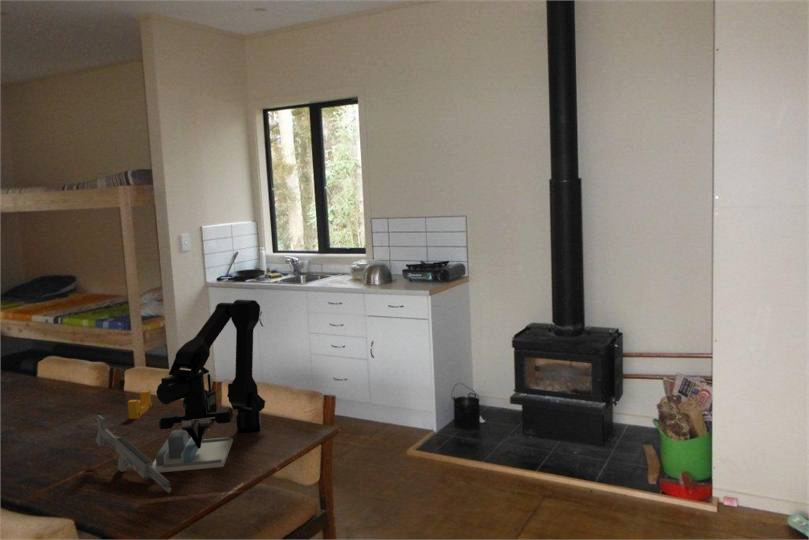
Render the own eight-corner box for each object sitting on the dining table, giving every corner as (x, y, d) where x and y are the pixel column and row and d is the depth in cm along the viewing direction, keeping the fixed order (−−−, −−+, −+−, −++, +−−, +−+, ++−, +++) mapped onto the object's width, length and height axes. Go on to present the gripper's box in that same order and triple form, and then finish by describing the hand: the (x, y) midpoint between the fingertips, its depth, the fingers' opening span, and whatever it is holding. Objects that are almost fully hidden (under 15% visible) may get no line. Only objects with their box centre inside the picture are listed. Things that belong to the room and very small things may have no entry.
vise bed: (232, 441, 191) (231, 430, 190) (223, 466, 173) (222, 454, 172) (165, 447, 188) (164, 435, 188) (148, 473, 171) (147, 460, 170)
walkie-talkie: (210, 423, 207) (206, 377, 206) (201, 422, 208) (197, 376, 207) (218, 418, 212) (215, 373, 210) (210, 417, 213) (206, 372, 211)
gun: (176, 510, 161) (178, 475, 159) (163, 515, 159) (165, 480, 156) (105, 444, 183) (105, 412, 180) (92, 448, 180) (93, 416, 177)
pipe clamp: (139, 409, 226) (137, 390, 225) (151, 408, 226) (150, 390, 225) (124, 421, 214) (122, 402, 213) (137, 420, 214) (135, 401, 213)
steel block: (189, 449, 183) (187, 428, 183) (184, 457, 177) (183, 436, 177) (174, 450, 183) (172, 430, 182) (169, 459, 177) (167, 437, 176)
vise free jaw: (201, 443, 187) (200, 434, 187) (191, 462, 174) (190, 453, 173) (192, 443, 187) (191, 435, 187) (181, 463, 173) (181, 454, 173)
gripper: (232, 381, 188) (237, 434, 190) (165, 387, 186) (171, 440, 187) (227, 393, 177) (232, 448, 179) (155, 399, 175) (161, 455, 176)
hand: (199, 447), depth 180 cm, fingers closed
